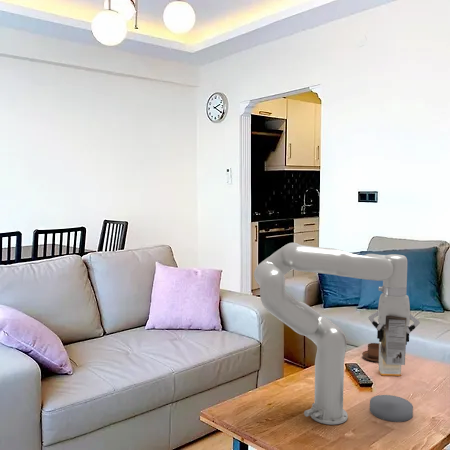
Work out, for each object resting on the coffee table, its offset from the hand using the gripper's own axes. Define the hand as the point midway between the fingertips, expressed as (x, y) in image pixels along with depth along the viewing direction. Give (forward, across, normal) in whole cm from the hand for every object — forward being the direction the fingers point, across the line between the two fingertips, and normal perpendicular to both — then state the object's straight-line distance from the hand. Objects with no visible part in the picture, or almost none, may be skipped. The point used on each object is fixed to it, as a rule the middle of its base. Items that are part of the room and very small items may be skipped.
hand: (392, 341), depth 167 cm
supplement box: (+25, -2, +36) cm, 44 cm away
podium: (+25, 0, 0) cm, 25 cm away
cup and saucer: (+25, -8, +52) cm, 58 cm away
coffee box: (+7, 0, 0) cm, 7 cm away
